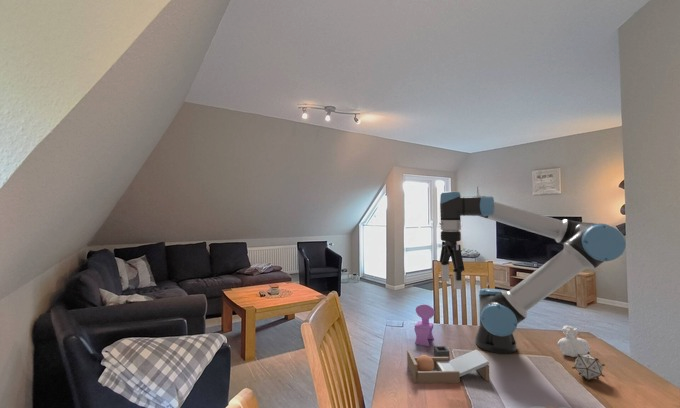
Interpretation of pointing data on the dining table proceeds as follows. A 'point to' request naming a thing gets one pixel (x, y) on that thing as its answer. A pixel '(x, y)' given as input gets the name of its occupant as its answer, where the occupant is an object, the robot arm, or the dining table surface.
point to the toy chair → (424, 325)
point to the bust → (573, 343)
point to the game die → (588, 366)
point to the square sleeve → (441, 351)
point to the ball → (425, 363)
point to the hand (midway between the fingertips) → (451, 284)
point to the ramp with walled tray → (449, 368)
